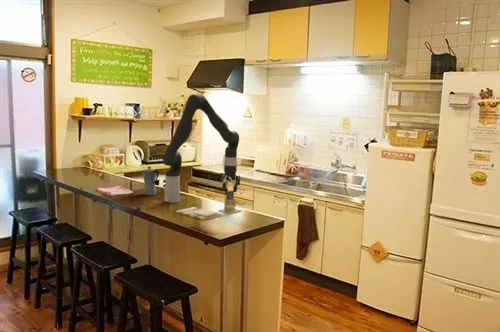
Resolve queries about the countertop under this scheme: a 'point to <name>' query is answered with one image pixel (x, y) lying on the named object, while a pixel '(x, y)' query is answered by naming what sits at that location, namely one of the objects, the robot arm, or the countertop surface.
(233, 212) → the mat
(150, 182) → the moka pot
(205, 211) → the tile
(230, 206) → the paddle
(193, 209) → the board
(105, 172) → the countertop surface
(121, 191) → the dish towel
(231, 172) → the robot arm
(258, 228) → the countertop surface
